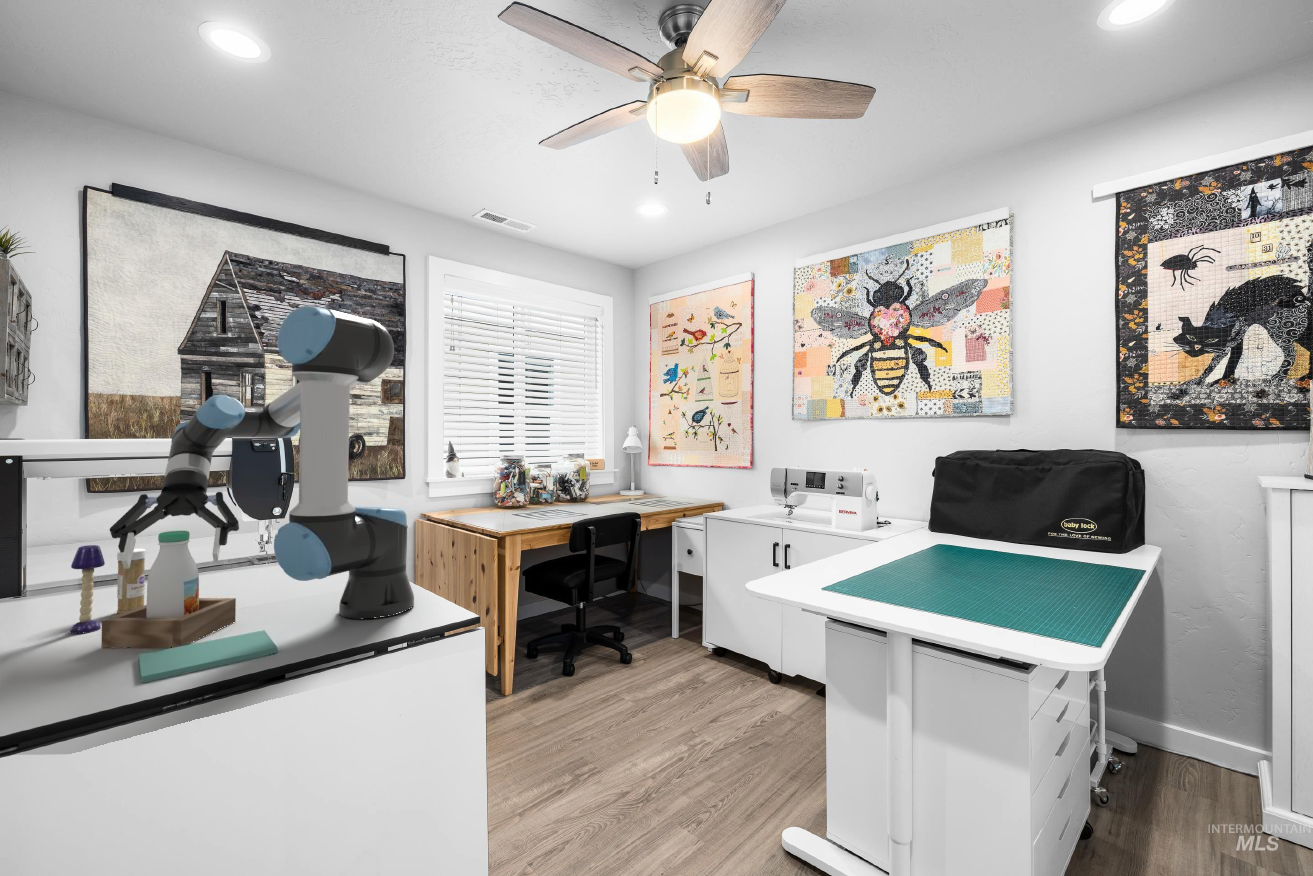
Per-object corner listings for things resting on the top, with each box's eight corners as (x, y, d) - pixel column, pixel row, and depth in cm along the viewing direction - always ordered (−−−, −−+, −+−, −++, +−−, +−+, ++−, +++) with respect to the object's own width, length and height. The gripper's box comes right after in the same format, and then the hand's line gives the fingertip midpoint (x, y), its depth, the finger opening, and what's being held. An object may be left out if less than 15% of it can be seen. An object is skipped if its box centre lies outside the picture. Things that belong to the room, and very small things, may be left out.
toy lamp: (107, 625, 113) (108, 543, 113) (98, 632, 109) (99, 547, 109) (75, 628, 111) (76, 545, 111) (64, 636, 107) (65, 549, 107)
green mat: (264, 635, 109) (264, 630, 109) (277, 653, 100) (277, 647, 100) (138, 660, 96) (138, 654, 96) (141, 682, 88) (141, 676, 88)
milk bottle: (167, 643, 104) (169, 536, 104) (135, 639, 106) (136, 534, 106) (208, 629, 112) (209, 529, 112) (177, 626, 113) (178, 527, 113)
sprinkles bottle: (140, 613, 121) (140, 551, 121) (112, 615, 119) (113, 552, 119) (148, 607, 125) (149, 547, 125) (122, 609, 123) (122, 548, 123)
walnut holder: (235, 622, 116) (235, 598, 116) (181, 647, 102) (181, 620, 102) (165, 622, 115) (166, 598, 115) (101, 647, 101) (101, 620, 101)
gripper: (256, 488, 132) (250, 564, 119) (113, 492, 119) (88, 578, 106) (255, 467, 127) (248, 544, 115) (105, 469, 114) (79, 556, 102)
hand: (171, 561), depth 110 cm, fingers open, 13 cm apart
